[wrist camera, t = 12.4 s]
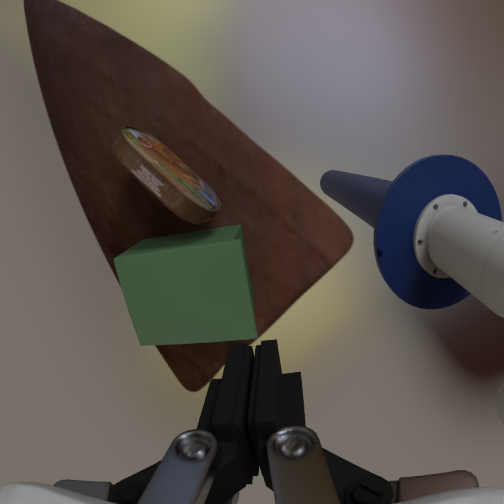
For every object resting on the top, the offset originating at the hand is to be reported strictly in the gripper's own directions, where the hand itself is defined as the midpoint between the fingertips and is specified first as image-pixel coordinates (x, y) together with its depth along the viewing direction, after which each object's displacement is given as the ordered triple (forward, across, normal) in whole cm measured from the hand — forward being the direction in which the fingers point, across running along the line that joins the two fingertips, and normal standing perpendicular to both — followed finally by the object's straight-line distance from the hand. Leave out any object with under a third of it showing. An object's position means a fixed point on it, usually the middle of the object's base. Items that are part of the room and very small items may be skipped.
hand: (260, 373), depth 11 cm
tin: (+29, +11, -8) cm, 32 cm away
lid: (+21, +10, +5) cm, 24 cm away
